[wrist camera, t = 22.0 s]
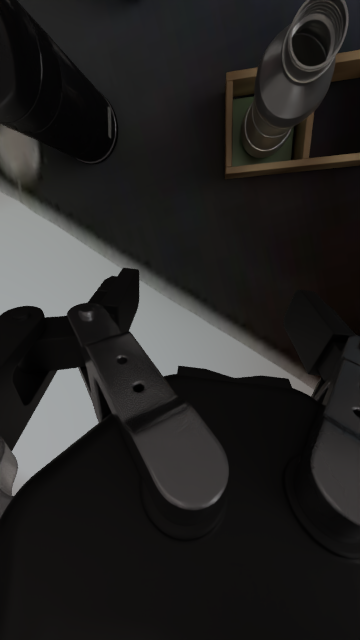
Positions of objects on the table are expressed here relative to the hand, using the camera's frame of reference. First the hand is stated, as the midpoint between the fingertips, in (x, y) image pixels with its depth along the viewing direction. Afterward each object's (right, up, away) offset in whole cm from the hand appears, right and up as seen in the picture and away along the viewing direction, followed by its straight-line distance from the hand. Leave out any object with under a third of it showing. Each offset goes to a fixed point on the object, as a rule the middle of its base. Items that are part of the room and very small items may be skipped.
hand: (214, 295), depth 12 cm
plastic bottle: (+10, +25, +21) cm, 35 cm away
